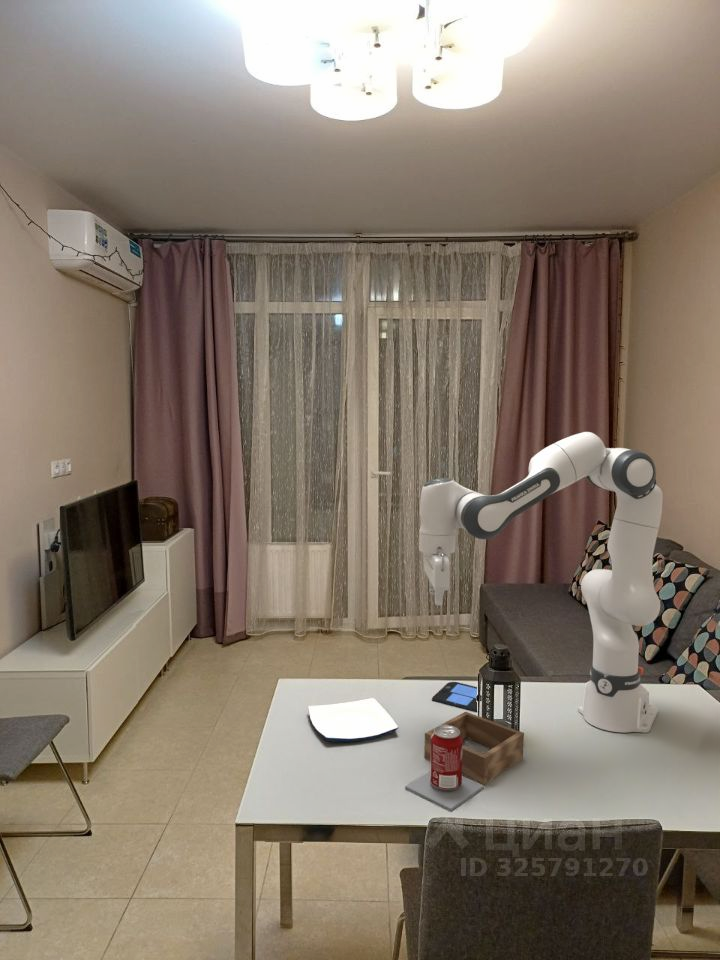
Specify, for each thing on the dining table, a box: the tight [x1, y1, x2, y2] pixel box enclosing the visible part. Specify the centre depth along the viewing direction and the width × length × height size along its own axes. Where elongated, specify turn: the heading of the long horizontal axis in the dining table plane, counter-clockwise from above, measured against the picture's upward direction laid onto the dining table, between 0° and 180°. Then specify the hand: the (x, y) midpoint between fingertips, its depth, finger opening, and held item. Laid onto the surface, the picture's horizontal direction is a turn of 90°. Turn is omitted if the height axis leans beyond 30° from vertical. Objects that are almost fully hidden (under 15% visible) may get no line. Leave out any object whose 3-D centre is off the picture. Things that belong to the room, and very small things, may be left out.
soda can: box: [429, 725, 464, 791], centre depth 146 cm, size 7×7×12 cm
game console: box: [431, 681, 477, 713], centre depth 193 cm, size 14×13×2 cm
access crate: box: [423, 711, 525, 785], centre depth 160 cm, size 16×16×6 cm
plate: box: [307, 697, 399, 742], centre depth 176 cm, size 20×20×3 cm
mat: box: [404, 771, 485, 812], centre depth 147 cm, size 12×12×1 cm
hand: (435, 599), depth 170 cm, fingers open, 8 cm apart
